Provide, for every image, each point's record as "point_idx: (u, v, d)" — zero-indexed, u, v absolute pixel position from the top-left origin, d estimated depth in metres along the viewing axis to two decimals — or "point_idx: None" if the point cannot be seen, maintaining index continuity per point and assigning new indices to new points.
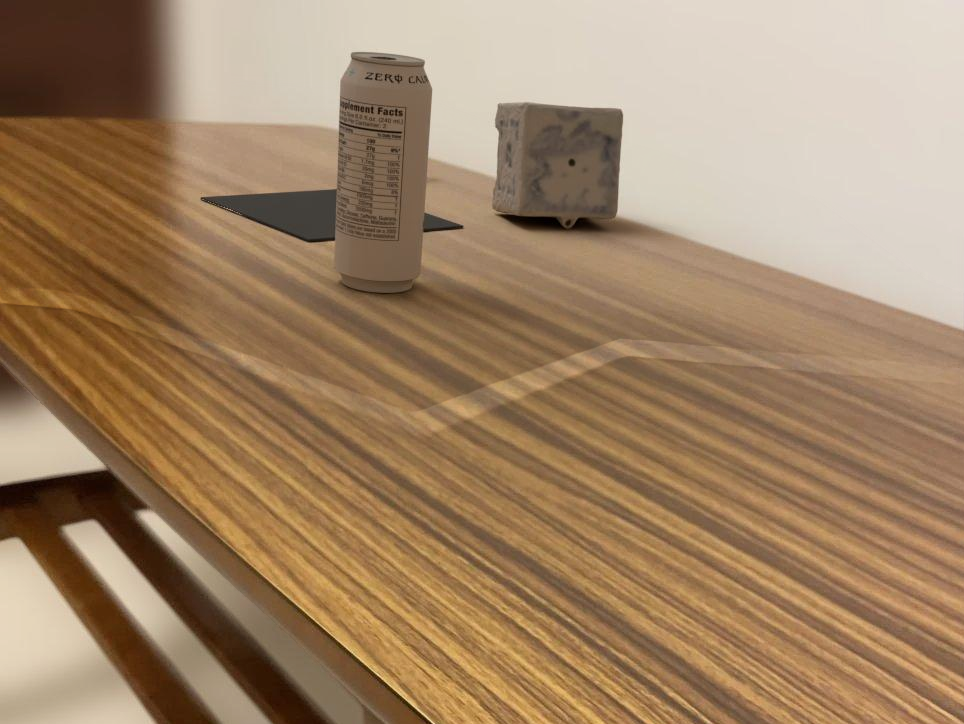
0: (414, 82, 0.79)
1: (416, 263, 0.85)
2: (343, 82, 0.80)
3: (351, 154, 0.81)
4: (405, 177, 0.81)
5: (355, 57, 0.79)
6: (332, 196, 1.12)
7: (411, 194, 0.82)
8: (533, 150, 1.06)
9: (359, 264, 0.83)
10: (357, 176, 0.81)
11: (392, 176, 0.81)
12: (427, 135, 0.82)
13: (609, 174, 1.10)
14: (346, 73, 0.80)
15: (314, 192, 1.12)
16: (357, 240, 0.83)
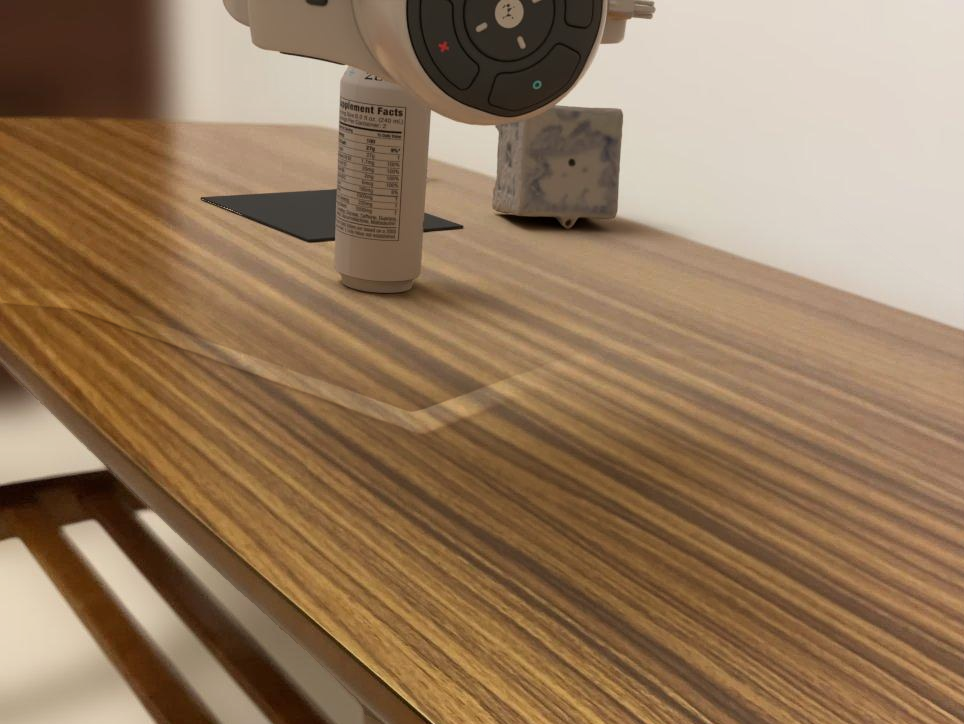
0: None
1: (416, 263, 0.85)
2: (343, 82, 0.80)
3: (351, 154, 0.81)
4: (405, 177, 0.81)
5: None
6: (332, 196, 1.12)
7: (411, 194, 0.82)
8: (533, 150, 1.06)
9: (359, 264, 0.83)
10: (357, 176, 0.81)
11: (392, 176, 0.81)
12: (427, 135, 0.82)
13: (609, 174, 1.10)
14: (346, 73, 0.80)
15: (314, 192, 1.12)
16: (357, 240, 0.83)
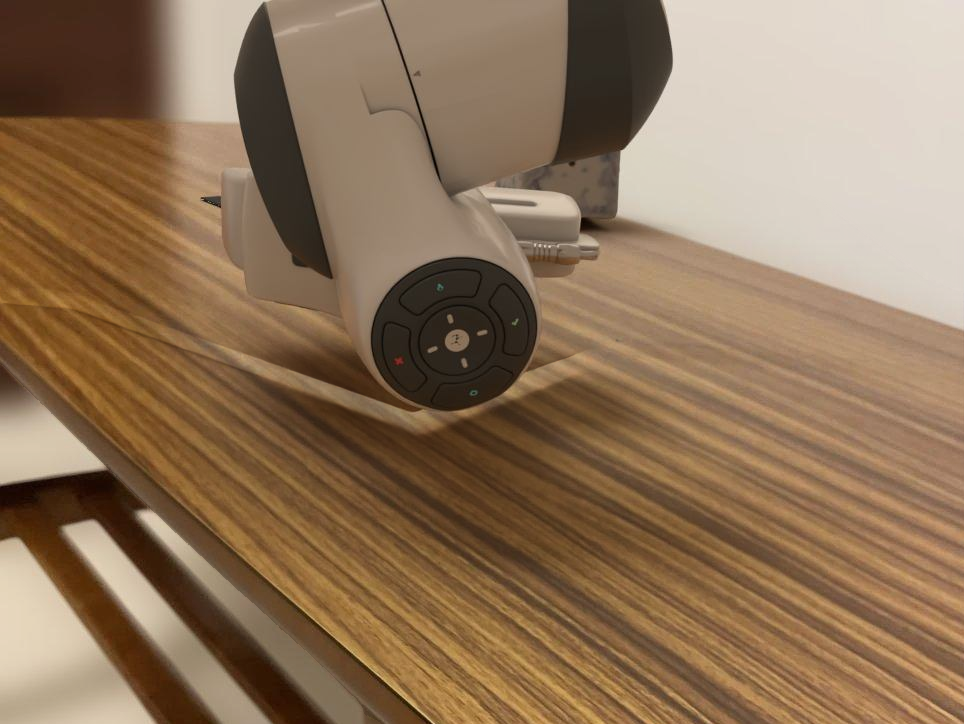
0: None
1: None
2: None
3: None
4: None
5: None
6: None
7: None
8: None
9: None
10: None
11: None
12: None
13: (609, 174, 1.10)
14: None
15: None
16: None
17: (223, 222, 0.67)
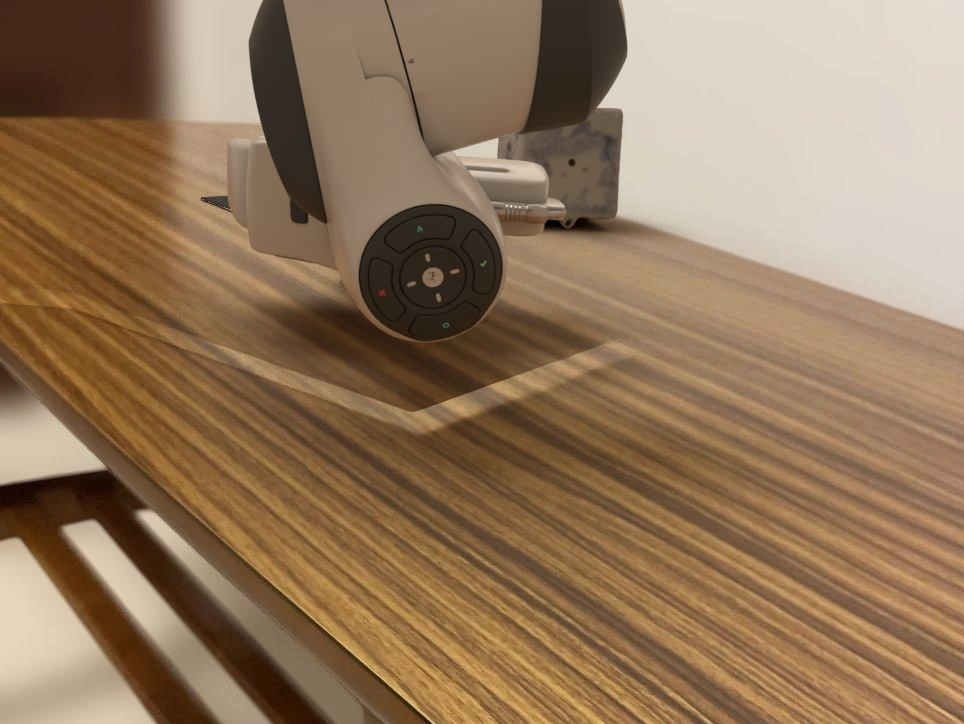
0: None
1: None
2: None
3: None
4: None
5: None
6: None
7: None
8: (533, 150, 1.06)
9: None
10: None
11: None
12: None
13: (609, 174, 1.10)
14: None
15: None
16: None
17: (229, 186, 0.75)
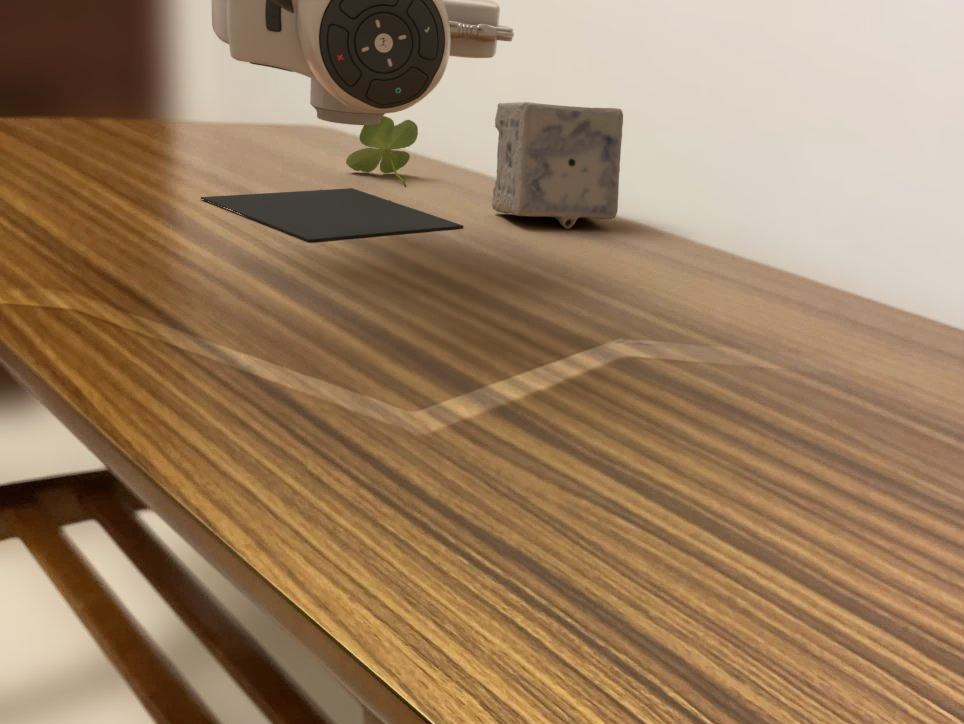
0: None
1: None
2: None
3: None
4: None
5: None
6: (332, 196, 1.12)
7: None
8: (533, 150, 1.06)
9: (332, 97, 0.92)
10: None
11: None
12: None
13: (609, 174, 1.10)
14: None
15: (314, 192, 1.12)
16: None
17: (213, 9, 0.84)
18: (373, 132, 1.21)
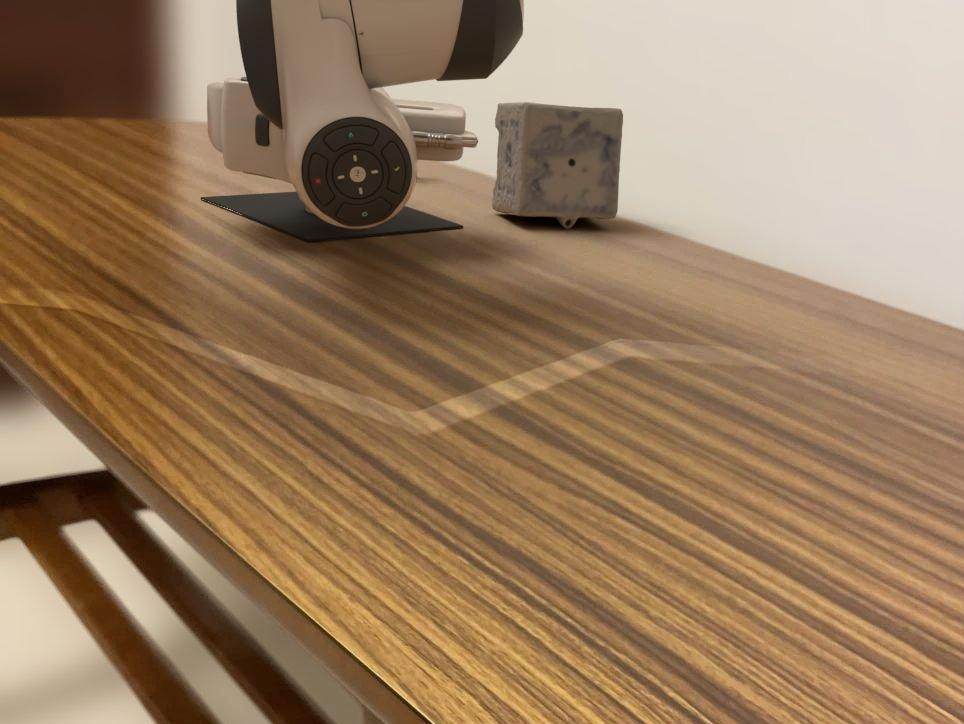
0: None
1: None
2: None
3: None
4: None
5: None
6: None
7: None
8: (533, 150, 1.06)
9: None
10: None
11: None
12: None
13: (609, 174, 1.10)
14: None
15: None
16: None
17: (208, 120, 0.94)
18: None
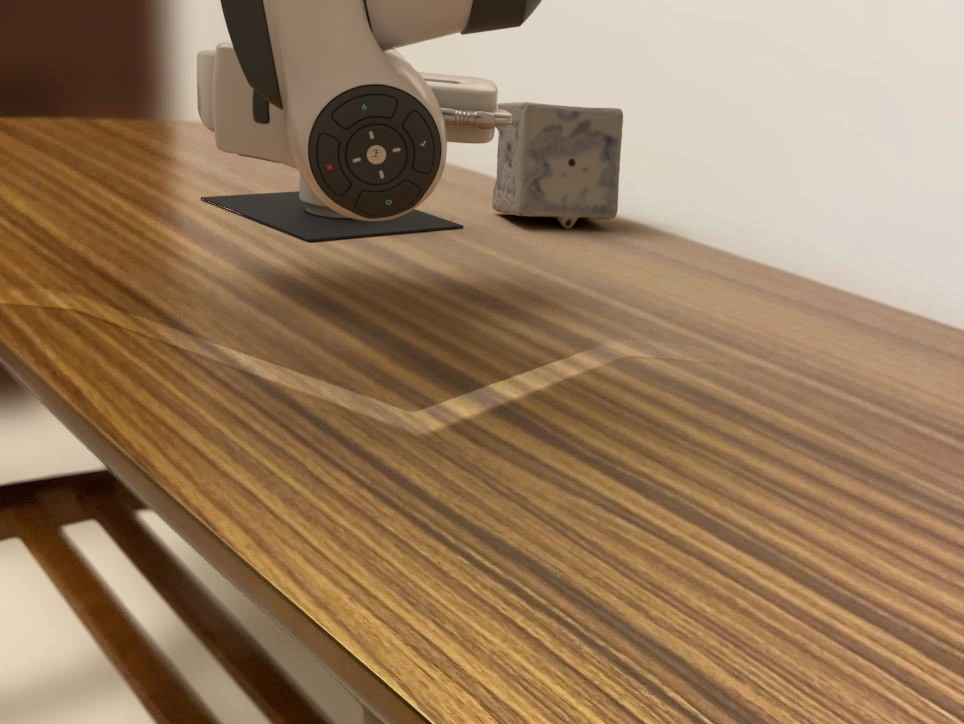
0: None
1: None
2: None
3: None
4: None
5: None
6: None
7: None
8: (533, 150, 1.06)
9: None
10: None
11: None
12: None
13: (609, 174, 1.10)
14: None
15: None
16: None
17: (198, 94, 0.80)
18: None
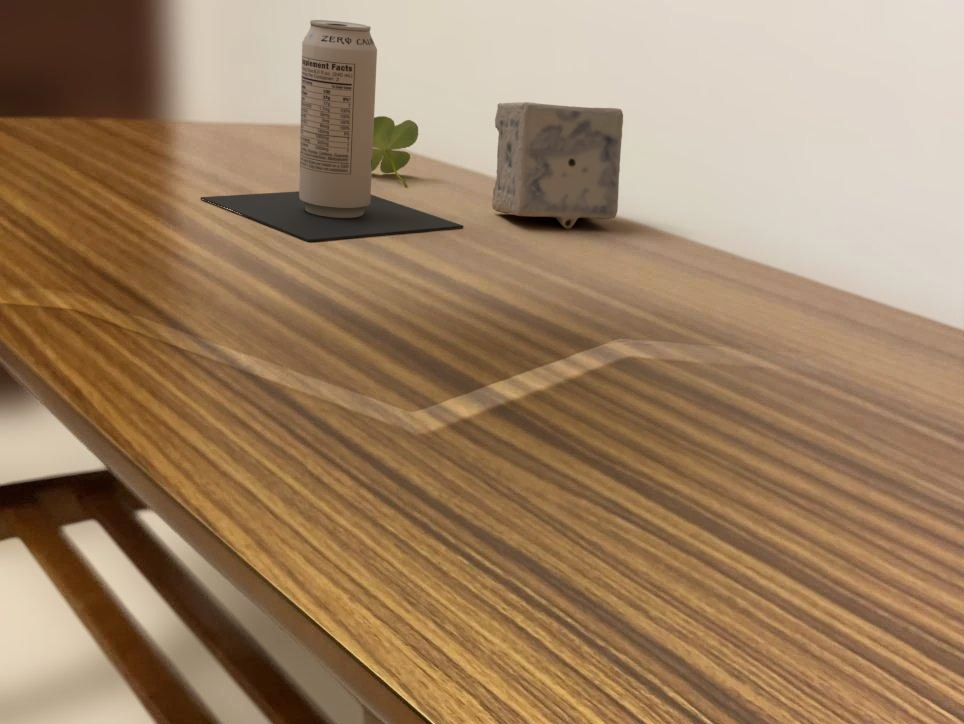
0: (361, 43, 0.98)
1: (366, 193, 1.04)
2: (304, 44, 0.99)
3: (311, 102, 1.00)
4: (355, 121, 1.00)
5: (313, 23, 0.98)
6: None
7: (360, 135, 1.01)
8: (533, 150, 1.06)
9: (319, 194, 1.02)
10: (316, 120, 1.00)
11: (344, 120, 1.00)
12: (373, 88, 1.01)
13: (609, 174, 1.10)
14: (306, 37, 0.99)
15: None
16: (317, 173, 1.02)
17: None
18: (373, 132, 1.21)
